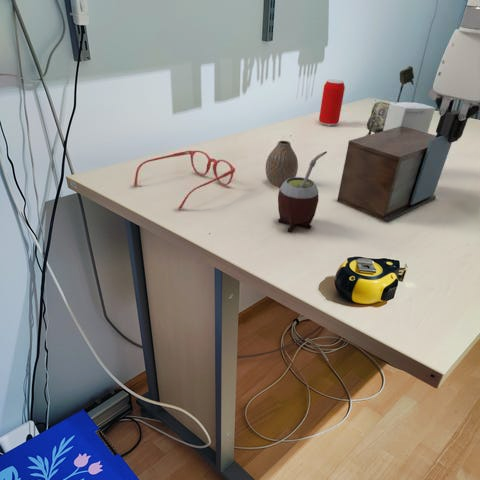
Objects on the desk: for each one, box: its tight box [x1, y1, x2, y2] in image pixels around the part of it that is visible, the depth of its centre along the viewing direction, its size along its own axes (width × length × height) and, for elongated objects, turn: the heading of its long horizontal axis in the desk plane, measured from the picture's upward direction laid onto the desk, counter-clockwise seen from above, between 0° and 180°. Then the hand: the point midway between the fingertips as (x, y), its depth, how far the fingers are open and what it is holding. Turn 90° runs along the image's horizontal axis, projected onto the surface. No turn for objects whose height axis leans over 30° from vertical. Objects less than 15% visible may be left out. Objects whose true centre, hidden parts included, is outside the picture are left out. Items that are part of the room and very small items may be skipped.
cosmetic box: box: [383, 101, 436, 133], centre depth 97 cm, size 8×6×15 cm
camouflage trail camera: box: [365, 65, 415, 136], centre depth 105 cm, size 8×11×20 cm
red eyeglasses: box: [133, 150, 236, 210], centre depth 87 cm, size 17×16×5 cm
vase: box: [265, 140, 299, 188], centre depth 90 cm, size 7×7×9 cm
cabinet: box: [336, 126, 437, 224], centre depth 84 cm, size 12×18×12 cm
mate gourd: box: [277, 150, 328, 233], centre depth 73 cm, size 8×8×15 cm
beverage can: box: [318, 78, 346, 127], centre depth 128 cm, size 6×6×12 cm
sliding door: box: [410, 109, 461, 205], centre depth 81 cm, size 2×9×16 cm, turn 131°
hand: (446, 139), depth 80 cm, fingers closed on sliding door
